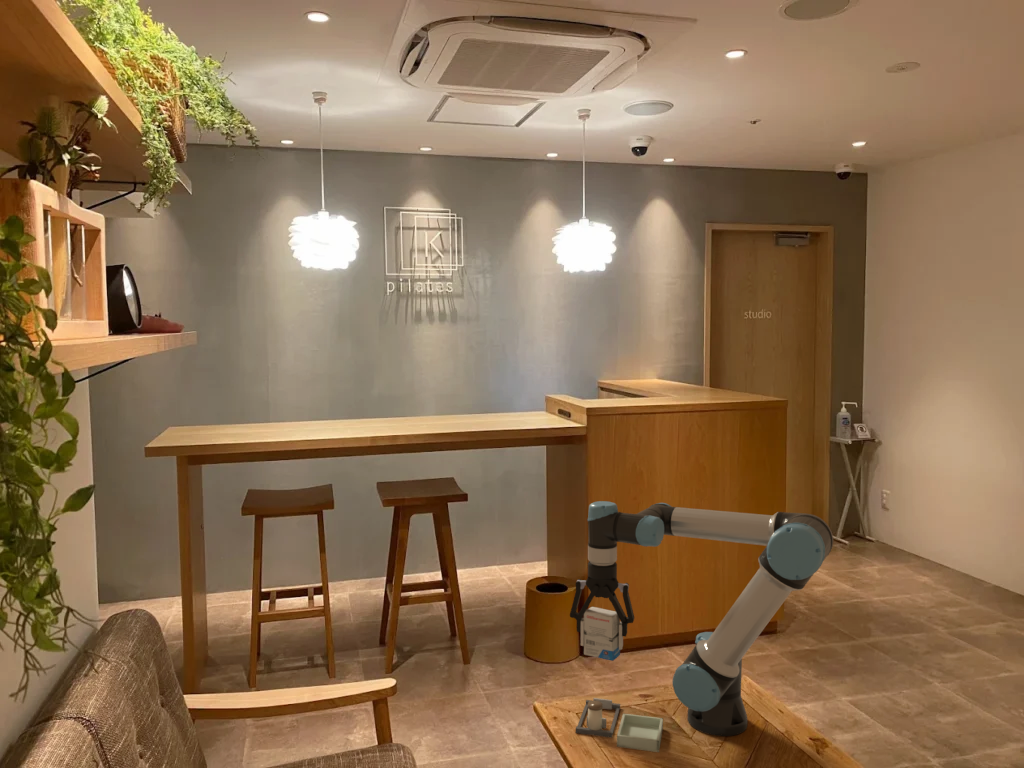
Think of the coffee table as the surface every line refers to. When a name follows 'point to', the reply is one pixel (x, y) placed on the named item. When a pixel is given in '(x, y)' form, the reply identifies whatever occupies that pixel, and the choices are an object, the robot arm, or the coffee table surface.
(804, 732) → the coffee table surface
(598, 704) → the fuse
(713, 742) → the coffee table surface
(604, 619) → the ink box
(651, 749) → the tray
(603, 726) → the rail
